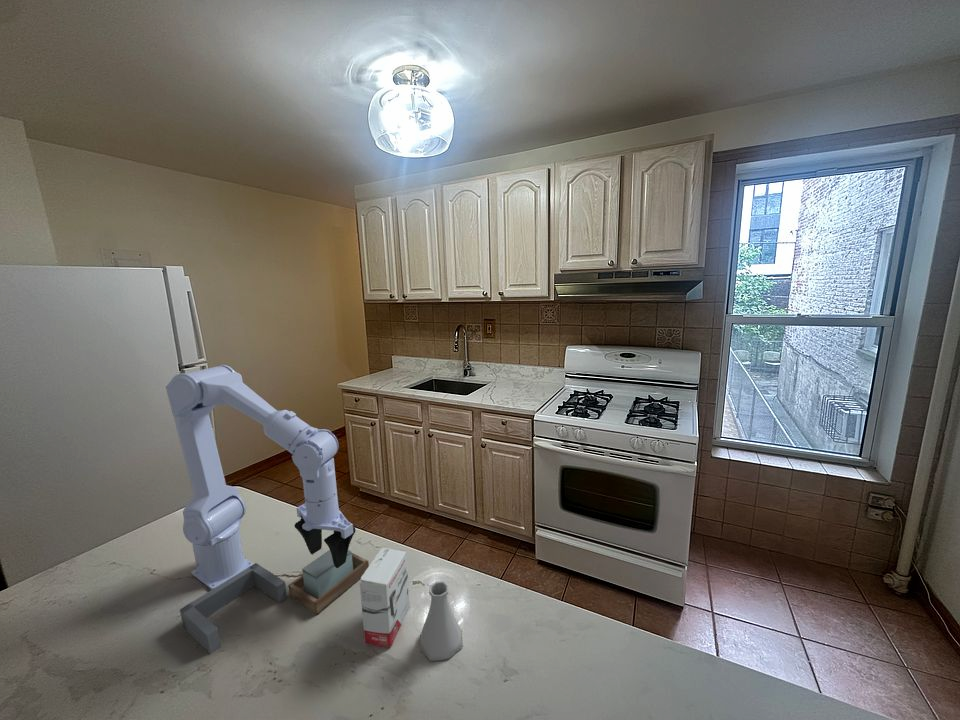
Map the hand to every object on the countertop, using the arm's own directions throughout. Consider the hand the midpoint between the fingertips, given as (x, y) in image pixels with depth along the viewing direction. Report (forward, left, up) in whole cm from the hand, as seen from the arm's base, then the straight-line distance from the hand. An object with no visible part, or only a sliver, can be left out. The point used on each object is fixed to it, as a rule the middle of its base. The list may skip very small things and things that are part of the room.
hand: (327, 557), depth 73 cm
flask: (+27, +1, -6) cm, 28 cm away
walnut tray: (0, 0, -6) cm, 6 cm away
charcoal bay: (-10, -13, -6) cm, 17 cm away
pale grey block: (0, 0, -5) cm, 5 cm away
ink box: (+17, -1, -6) cm, 18 cm away
